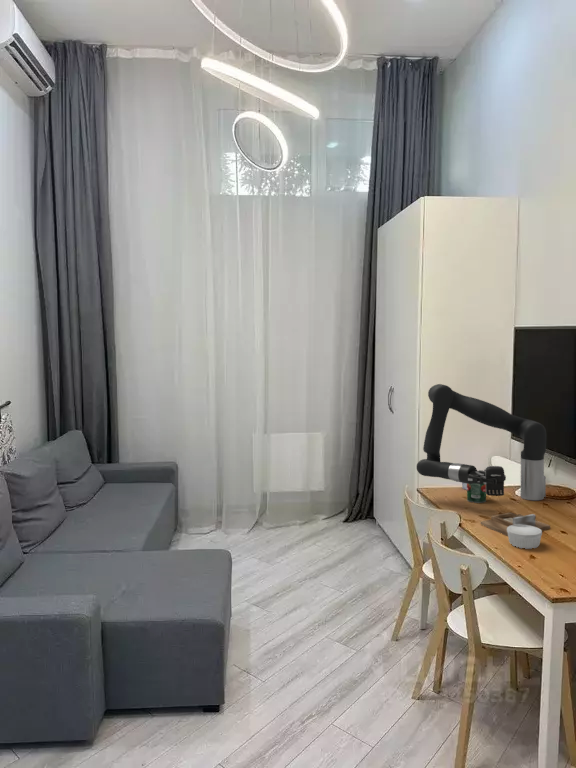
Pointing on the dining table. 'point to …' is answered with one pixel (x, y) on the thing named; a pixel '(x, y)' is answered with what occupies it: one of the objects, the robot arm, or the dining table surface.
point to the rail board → (512, 522)
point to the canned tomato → (476, 493)
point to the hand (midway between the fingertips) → (500, 479)
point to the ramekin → (524, 536)
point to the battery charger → (498, 474)
